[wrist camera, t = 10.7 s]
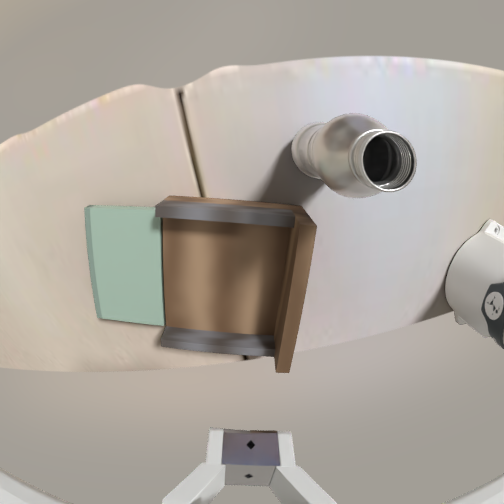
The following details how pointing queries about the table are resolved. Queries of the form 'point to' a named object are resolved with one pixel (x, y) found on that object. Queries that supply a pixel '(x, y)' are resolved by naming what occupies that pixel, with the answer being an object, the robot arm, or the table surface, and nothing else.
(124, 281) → the panel
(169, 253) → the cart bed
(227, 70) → the table surface
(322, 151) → the plastic bottle
